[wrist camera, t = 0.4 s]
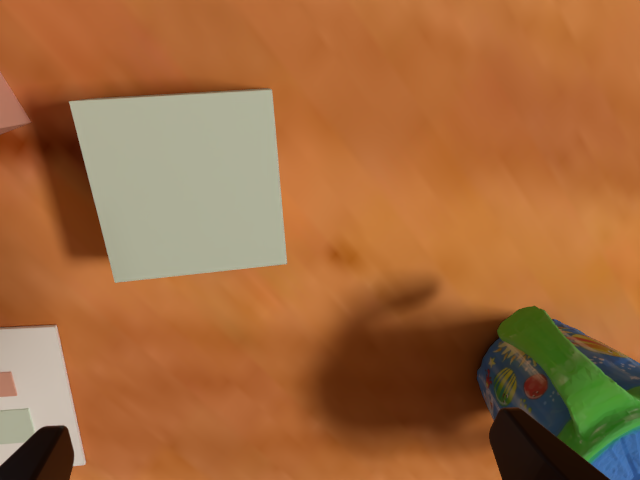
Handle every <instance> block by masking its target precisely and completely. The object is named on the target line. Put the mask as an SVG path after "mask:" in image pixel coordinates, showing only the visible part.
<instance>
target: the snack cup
mask: <svg viewBox="0 0 640 480" xmlns="http://www.w3.org/2000/svg"><path fill="white" fill-rule="evenodd" d="M497 333H498V336H499V339H497V340H496V341H495V342H494V343H493V344H492V345H491V347H490V348H489V349H488V351H487V353H486V354H485V356H484V357H483V360H482V364H481V367H480V368H479V369H478V371H477V381H478V383H479V386H480V389H481V393H482V395H483V398H484V400H485V402H486V405H487V407H488V410H489V411H490V413H491V416H492V418H493V420H495V418H496V416H497V414H498V412H499V410H500V409H501V408H508V407H517V408H520V409H522V410H523V411H525V412H526V413H527V414H528V415H530V416H531V417H532V418H534V419H535V420H536V421H537V422H539V423H540V424H541V425H542V426H544V427H545V428H546V429H547V430H549V431H550V432H551V433H552V434H554V435H555V436H556V437H557V438H559V439H560V440H561V441H563V442H564V443H565V444H566V445H568V446H569V447H570V448H571V449H573V450H574V451H575V452H576V453H578V454H579V455H580V456H581V457H583V458H584V459H585V460H586V461H588V462H589V463H590V464H592V465H593V466H594V467H595V468H597V469H598V470H599V471H600V472H602V473H603V474H604V475H605V476H607V477H608V478H609V479H610V480H640V363H638V362H636V361H635V360H633V359H631V358H629V357H628V356H626V355H624V354H622V353H620V352H618V351H616V350H615V349H613V348H611V347H609V346H607V345H605V344H603V343H601V342H599V341H597V340H595V339H593V338H591V337H589V336H587V335H585V334H584V333H583V332H581V331H579V330H577V329H575V328H572V327H569V326H568V325H565V324H563V323H561V322H560V321H558V320H555V319H551V318H550V317H549V315H548V314H547V313H546V311H545V310H542V309H539V308H537V307H536V306H532V307H526V308H522V309H519V310H518V311H516V312H515V313H513V314H512V315H511V316H510V317H508V318H507V319H505V320H504V321H503V322H502V323H501V324H500V326H499V328H498V330H497Z"/></svg>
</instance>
